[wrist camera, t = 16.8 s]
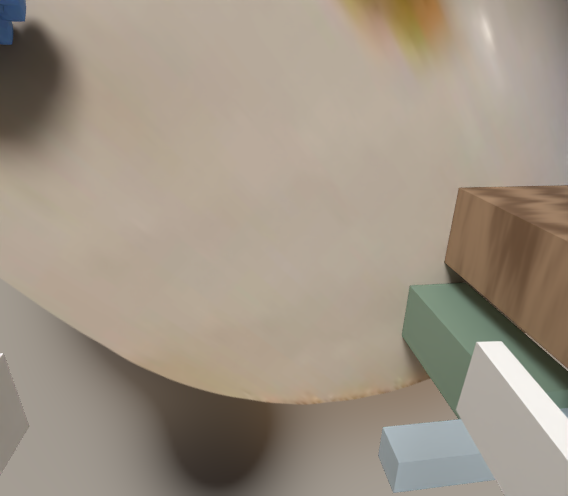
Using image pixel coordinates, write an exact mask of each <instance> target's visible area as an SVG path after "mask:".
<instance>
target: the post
mask: <svg viewBox="0 0 568 496" xmlns="http://www.w3.org/2000/svg"><path fill="white" fill-rule="evenodd" d="M402 337H403V338H404V339H405V341H406V342H407V344H408V345H409V347H410V348H411V350H412V351H413V353H414V354H415V356H416V357H417V359H418V360H419V362H420V363H421V365H422V366H423V368H424V369H425V370H426V372H427V373H428V375H429V376H430V378H431V379H432V381H433V382H434V384H435V385H436V387H437V388H438V389H439V391H440V393H441V394H442V395H443V397H444V398H445V400H446V401H447V403H448V404H449V406H450V407H451V409H452V410H453V412H454V413H455V414H456V416H457V418H458V419H461V418H460V416H459V415H458V413H457V411H456V408H457V405H458V401H459V398H460V395H461V391H462V388H463V385H464V382H465V378H466V375H467V372H468V368H469V365H470V362H471V358H472V355H473V352H474V348H475V345H476V342H491V341H502V342H503V344H504V345H505V346H506V347H507V348H508V349H509V351H510V352H511V353H512V354H513V355H514V356H515V358H516V359H517V360H518V361H519V362H520V363H521V365H522V366H523V367H524V368H525V369H526V370H527V372H528V373H529V374H530V375H531V376H532V377H533V379H534V380H535V381H536V382H537V383H538V384H539V386H540V387H541V388H542V389H543V390H544V391H545V393H546V394H547V395H548V396H549V397H550V398H551V400H552V401H553V402H554V403H555V404H556V405H557V407H558V408H559V409H563V408H568V371H567V370H566V369H565V368H563V367H562V366H561V365H560V364H559V363H558V362H556V361H555V360H554V359H553V358H552V357H551V356H550V355H548V354H547V353H546V352H545V351H544V350H543V349H542V348H540V347H539V346H538V345H537V344H536V343H535V342H533V341H532V340H531V339H530V338H529V337H528V336H527V335H526V334H524V333H523V332H522V331H521V330H520V329H519V328H517V327H516V326H515V325H514V324H513V323H512V322H511V321H509V320H508V319H507V318H506V317H505V316H504V315H503V314H501V313H500V312H499V311H498V310H497V309H496V308H494V307H493V306H492V305H491V304H490V303H489V302H488V301H486V300H485V299H484V298H483V297H482V296H481V295H480V294H478V293H477V292H476V291H475V290H474V289H473V288H471V287H470V286H469V285H468V284H467V283H450V284H432V285H414V286H410V288H409V295H408V301H407V307H406V313H405V319H404V325H403V332H402Z"/></svg>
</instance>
